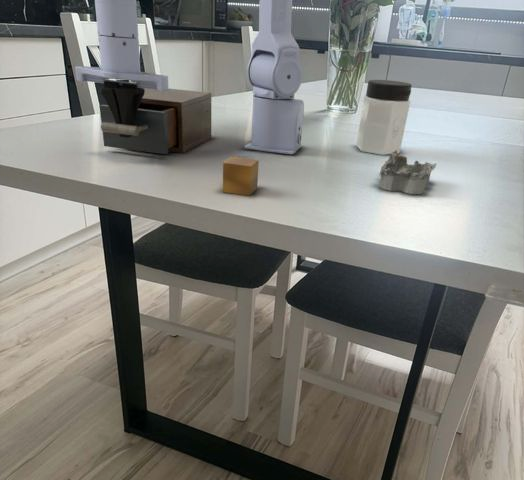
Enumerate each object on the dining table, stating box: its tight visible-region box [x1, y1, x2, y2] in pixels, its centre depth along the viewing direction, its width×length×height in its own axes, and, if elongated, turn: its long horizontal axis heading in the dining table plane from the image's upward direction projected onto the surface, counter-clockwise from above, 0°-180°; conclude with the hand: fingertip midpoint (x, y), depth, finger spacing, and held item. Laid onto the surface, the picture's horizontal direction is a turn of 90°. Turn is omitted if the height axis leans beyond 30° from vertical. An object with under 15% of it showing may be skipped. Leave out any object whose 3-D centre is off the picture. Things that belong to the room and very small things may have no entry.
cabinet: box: [140, 87, 212, 154], centre depth 90 cm, size 15×13×8 cm
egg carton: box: [378, 150, 437, 195], centre depth 76 cm, size 11×8×4 cm
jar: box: [355, 79, 413, 156], centre depth 94 cm, size 9×8×12 cm
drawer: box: [99, 103, 179, 155], centre depth 83 cm, size 18×11×6 cm, turn 165°
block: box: [222, 156, 260, 197], centre depth 68 cm, size 4×4×4 cm
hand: (126, 136), depth 78 cm, fingers closed, pressing on drawer
